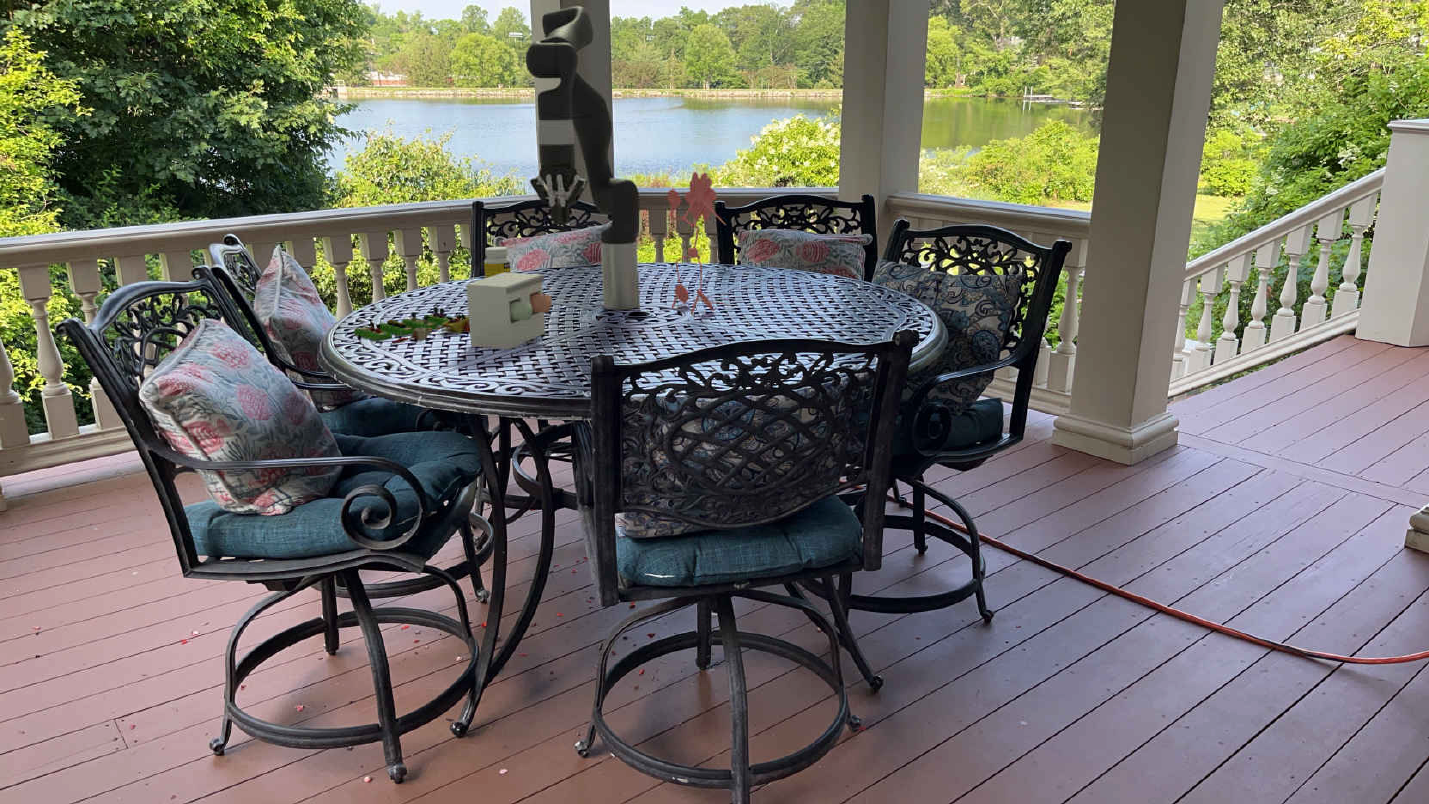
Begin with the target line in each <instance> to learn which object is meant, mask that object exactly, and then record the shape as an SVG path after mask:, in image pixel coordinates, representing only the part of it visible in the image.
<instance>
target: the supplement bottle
mask: <svg viewBox="0 0 1429 804" xmlns="http://www.w3.org/2000/svg"><path fill="white" fill-rule="evenodd" d="M484 251H485V253H484V254H485V257H486V258H485V259H484V262H483V265H484V267H483V268H484V275H485V276H484V277H485V278H488V277H491V276H495V275H498V274H501V273H512V269H511V268H512V267H511V259H510V258H509V257H508V254H509V251H508V247H506V246H490V247H486V248H485V249H484ZM485 278H484V279H485Z"/></svg>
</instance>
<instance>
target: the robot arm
mask: <svg viewBox="0 0 1429 804" xmlns="http://www.w3.org/2000/svg"><path fill="white" fill-rule="evenodd" d="M541 19H542V21H541V24H542V31H543V35H544V38H542V39H538V40H536V41H534V42H532V43H531V44H530V45H529V47H528V48H527V51H526V55H525V62H526V63H525V64H526V65H525V66H526V68H527V70H528V72H529V73H530V74H531V75H532V76H533V77H535V78H536V79H560V83H558V86H556V87H555V88H551V89H547V90H543V91H541V92H539V93H538V95H537V113H538V129H537V131H538V133H537V135H538V138H537V140H538V151H539V153H538V155H539V164H540V169H539V172H538V173H539V174H538V175H537V176H536V177H535V178H531V179H530V180H529V182H530V185H531V186H532V188H533V189H534V192H535V193H536V195H537V197H539V200H540V201H541V203H542V204H545V205H548V206H550V216H551V217H550V218H551V222H553V224H554V225H567V224H569V222H570V220H571V210H570V209H571V208H570V207H571V206H572V205H574V204H577V203H578V202H579V199H580V198H581V196H582V194H583V192H584V190H585V189H586V186H587V185H588V184H589V190H590V194H591V198H592V202H593V204H594V205H593V206H595V208H596V209H597V211H599V212H600V213H601V214H604V215H611V225H610V226H608V227H607V228H605V229H602V231H601V232H600V251H601V273H602V279H601V280H602V300H603V308H604V309H606V310H613V311H616V310H617V311H622V310H623V311H624V310H625V311H626V310H633V309H640V308H641V307H640V306H641V303H640V276H639V275H640V274H639V271H638V249H637V246H638V243H637V240H638V239H637V237H638V232H639V230H640V229H639V228H640V193H639V189H638V187H637V185H636V184H635V182H634V181H633V180H630V179H627V178H616V177H614V175H613V173H612V169H611V166H610V162H609V149H610V143H611V139H612V134H613V133H612V132H613V123H612V119H611V115H610V112H609V109H608V104H607V102H606V99H605V98H604V96H603V95H602V93H600V91H599V90H598V89H596V88H595V86H593V84H591V83H590V82H589V81H588V80H587V79H586V78H585V77H584V76H583V75H582V74H580V72H579V71H578V70H577V69H578V68H577V67H578V62H579V57H578V52H579V51H580V50H582V49H583V48H584V47H587V46H589V45H590V44H591V43H592V41H593V39H594V29H593V23H592V21H591V17H590V14H589V13H588V11H587V9H585V7H582V6H579V5H578V6H570V7H566V8H562V9H561V8H560V9H559V10H553V11H549V12H547V13H544V14H543V15H542V18H541ZM575 133H576V136H577V139H578V143H579V146H580V150H581V154H582V157H583V162H584V165H585V169H586V174H587V178H582V177H580V176H579V175H578V170H577V169H576V151H575V150H576V149H575ZM544 185H546V187H545V186H544ZM572 185H573V186H574V188H573V190H571V188H572ZM571 191H572V192H571Z"/></svg>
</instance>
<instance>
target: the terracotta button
mask: <svg viewBox="0 0 1429 804" xmlns="http://www.w3.org/2000/svg"><path fill="white" fill-rule="evenodd" d="M530 304H531V306H532V311H533V312H544V313H549V312H550V311H551V309H552V299H551V296H550V295H549V294H543V295H539V294H530Z"/></svg>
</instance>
